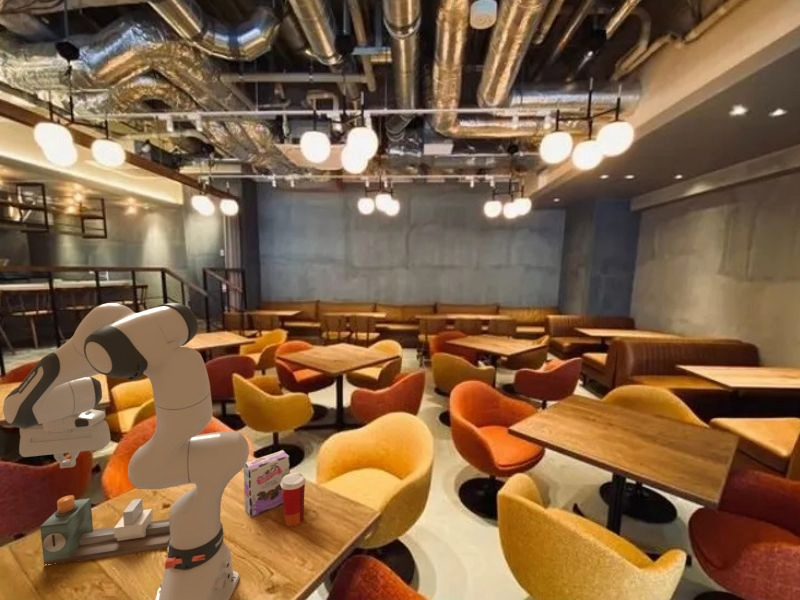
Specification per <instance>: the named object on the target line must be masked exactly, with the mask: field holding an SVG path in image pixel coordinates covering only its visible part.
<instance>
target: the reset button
mask: <svg viewBox="0 0 800 600" xmlns="http://www.w3.org/2000/svg"><path fill="white" fill-rule="evenodd" d="M75 500H76V499H75V495H73V494H71V495H66V496H62V497H61V498H59V499H58V500H57V501H56V505H57V510H58V513H66V512H69V511H71V510H72V509H74V508H75Z"/></svg>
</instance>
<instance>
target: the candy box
mask: <svg viewBox="0 0 800 600" xmlns="http://www.w3.org/2000/svg"><path fill="white" fill-rule="evenodd" d="M290 465H291V464H290V455H288V454H287V453H286V451H284V449H282V450H279V451H277V452H274V453H270V454H267V455H264V456H260V457H258V458H254V459H251V460H247V462H246V464H245V466H244V467H243V487H244V488H243V490H244V491H243V493H244V509H245V511H246V512H247V514H248V516H249V517H250V518H253V517H256V516H257V515H259V514H262V513H265V512H267V511H269V510H272V509H274V508H277V507H279V506H281V505H283V496H282V488H281V485H280V484H281V481H282V479H283V477H284V476H286V475H288V474H291V472H290V471H291V470H290V468H291V467H290Z"/></svg>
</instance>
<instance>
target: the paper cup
mask: <svg viewBox="0 0 800 600" xmlns="http://www.w3.org/2000/svg"><path fill="white" fill-rule="evenodd" d="M306 482H307V481H306V478H305V475H303V474H302V473H300V472H292V473H291V472H290V474H288V475H286V476H284V477H283V479H282V481H281V484H280V485H281V488H282V496H283V504H282V505H283V515H284V521H285V525H286V526H288V527H296V526H298V525H301V523H303V521H304V516H305V515H304V513H305V489H306V488H305V487H306Z"/></svg>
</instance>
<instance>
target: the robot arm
mask: <svg viewBox="0 0 800 600" xmlns="http://www.w3.org/2000/svg"><path fill="white" fill-rule="evenodd" d="M198 330H199V325H198V320H197V317H196V315H195V314H194V312H193V311H192V310H191V309H190V308H189V307H187V306H186V305H184V304H182V303H179V302H170V303H163V304H162V303H161V304H158V305H155V306H151V307H149V308H148V309H145V310H143V311H139V312H135V311H133V310H132V309H131V308H130V307H128V306H126V305H124V304H120V303H115V302H109V303H108V302H107V303H103V304H99V305H97V306H96V307H94V308H93V309H92V310H90V312H89V313H88V314H86V316H85V317H84V318H83V319H82V320H81V322H80V323H79V324H78V326H77V327H76V329H75V331H74V333H73V336H71V337H70V339H68V340H67V341H66V342H65V343H64V344H62V345H61V346H60V347H58V348H57V349H54V350H52V352H50V353H48V354H46V355H45V356H43V357H42V358H41V359H40V360H39V361H38V362H37V363H36V365H34V367H33V368H32V370H30V372H29V373H27V376H26V377H25V378H24V379H23V380H22V382H21V383H20V384H19V386H17V387H15V388H14V389H12V390H11V391H10V392H9V393H8V394H7V396H6V397H5V398H4V401H3V406H2V412H3V417H4V419H5V422H6V423H7V424H8V425H10V426H12V427H15V428H19V436H20V438H19V448H18V451H19V455H20V456H21V457H23V458H28V457H29V458H30V457H37V456H47V455H53V457H54V459H55V460H56V462H58V463H59V468H60V469H66V468H67V469H68V468H74V467H75V466H76V465H77V461H76V459H77V458H78V456H79V454H80V453H81V452H89V451H97V450H103V449H105V448H106V447H107V446H108V445H109V444H110V442H111V433H110V432H111V431H110V427H109V424H108V422H107V421H106V420H104V419H105V418H106V412H105V411H103V410H98V409H96V407H97V406H98V405H99V403H100V402H101V400H102V399H103V390H102V389H103V388H102V384H101V382H100V380H99V379H97V378H95V377H93V376H96V375H104V376H108V377H111V378H114V379H123V378H125V379H127V380H129V381H137V380H139V379H141V378H142V377H143V375H145V376H146V377H147V378H148V380H149V382H150V384H151V388H152V397H153V403H154V409H155V416H156V417H155V420H156V427H155V431H154V433H153V434H152V436H151V437H150V439H148V441H146V442H145V443H144V444H143V445H141V446H140V447H138V449H136V451H135V452H133V454H132V456H131V458H130V460H129V463H128V466H127V475H128V476H127V477H128V479H129V482H130V483H131V485H132V486H133V487H134V488H135V489H137V490H162V489H164V490H165V489H169V488H174V487H179V486H184V485H185V486H187V485H192V484H193V485H195V486H193V487H192V488H191V489H189V490H188V491H186V492H185V493H183V494H182V495H180V497H178V498H177V499H176V501H175V502H174V503H173V504H172V505H171V508H170V510H169V513H168V519H169V527H170V540H169V545H168V547H167V557H166V558H165V562H164V571H163V577H162V582H161V584H160V586H159V587H158V589H157V590H156V595H155V598H154V600H230V599H231V597H232V595H233V593H234V591H235V589H236V586H237V584H238V582H239V581H240V574H239V572H237V571H235V570H234V569H233V562H232V553H231V548H230V547H229V546H228V545H227V543H225V541H224V528H223V523H222V522H221V508H222V507H221V506H222V505H221V504H222V497H223V495H224V494H223V493H224V492H225V489H226V487H227V486H228V484H229V483H230V481H231V480H232V479H233V478H234V477H235V476H236V475H237V474H238V473H241V471H243V469H244V466H245V464H246V462H248V458H249V455H250V447H249V443H248V440H247V438H246V437H245V435H243V434H242V433H241V432H240V431H239V432H238V431H222V430H221V431H216V432H209V433H201V432H203V431H204V430H205V429H206V428H207V427H208V425H209V424H210V422H211V420H212V418H213V415H214V413H213V411H214V410H213V401H212V391H211V383H210V379H209V378H210V377H209V375H208V370H207V366H206V363H205V362H204V359H203V357H202V354H201V353H200V352H199V351H198V350H196V349H194V348H193V347H187V346H186V345H187V344H188V343H189V342H190V341H192V340H193V339H194V338H195V336H196V335H197V334H198V332H199V331H198ZM67 453H68V454H69V456H70V458H66V457H65V455H64V454H67Z"/></svg>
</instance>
